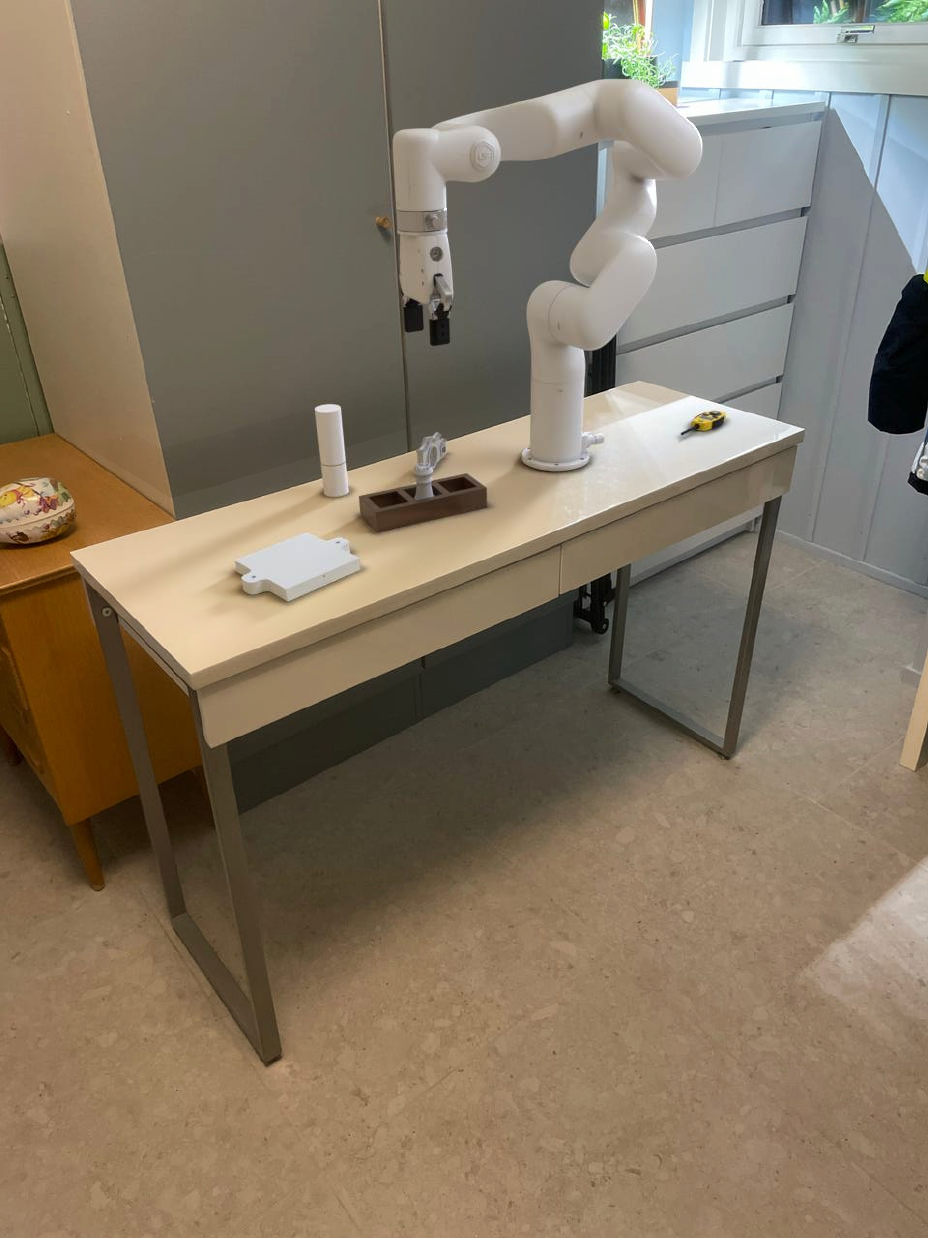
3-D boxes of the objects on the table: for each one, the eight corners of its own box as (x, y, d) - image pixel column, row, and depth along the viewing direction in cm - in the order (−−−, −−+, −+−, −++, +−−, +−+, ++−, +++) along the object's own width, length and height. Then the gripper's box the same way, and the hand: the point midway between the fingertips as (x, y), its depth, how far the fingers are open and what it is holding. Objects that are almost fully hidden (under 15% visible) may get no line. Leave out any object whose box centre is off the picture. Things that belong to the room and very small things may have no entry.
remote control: (731, 411, 187) (692, 431, 178) (730, 421, 188) (691, 440, 179) (710, 407, 190) (670, 425, 181) (709, 416, 191) (669, 435, 182)
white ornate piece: (439, 453, 176) (438, 423, 173) (448, 454, 176) (447, 424, 173) (416, 476, 167) (414, 445, 164) (425, 477, 166) (424, 446, 163)
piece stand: (360, 515, 153) (358, 495, 151) (467, 491, 160) (466, 472, 158) (377, 532, 147) (375, 512, 145) (487, 507, 155) (487, 487, 153)
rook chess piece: (426, 503, 157) (424, 458, 152) (444, 510, 154) (442, 465, 150) (406, 511, 154) (403, 465, 150) (424, 518, 151) (422, 472, 147)
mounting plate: (272, 608, 127) (270, 596, 126) (221, 577, 135) (219, 565, 134) (373, 563, 138) (372, 552, 137) (321, 537, 146) (319, 526, 145)
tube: (344, 497, 159) (336, 412, 152) (320, 496, 160) (311, 411, 152) (351, 487, 163) (344, 404, 155) (328, 486, 164) (319, 403, 156)
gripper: (470, 226, 133) (472, 346, 142) (420, 213, 147) (425, 323, 155) (423, 231, 131) (428, 353, 139) (376, 217, 144) (384, 329, 153)
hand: (426, 337), depth 147 cm, fingers open, 9 cm apart
